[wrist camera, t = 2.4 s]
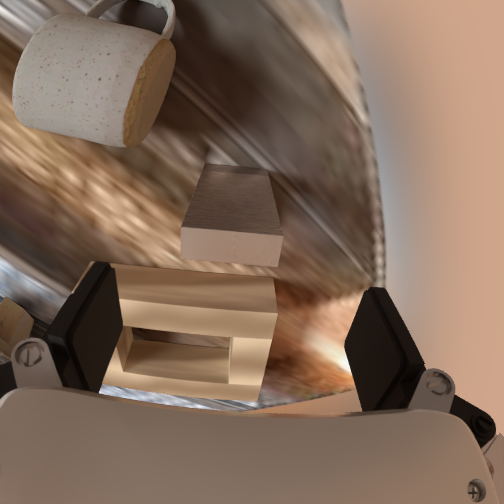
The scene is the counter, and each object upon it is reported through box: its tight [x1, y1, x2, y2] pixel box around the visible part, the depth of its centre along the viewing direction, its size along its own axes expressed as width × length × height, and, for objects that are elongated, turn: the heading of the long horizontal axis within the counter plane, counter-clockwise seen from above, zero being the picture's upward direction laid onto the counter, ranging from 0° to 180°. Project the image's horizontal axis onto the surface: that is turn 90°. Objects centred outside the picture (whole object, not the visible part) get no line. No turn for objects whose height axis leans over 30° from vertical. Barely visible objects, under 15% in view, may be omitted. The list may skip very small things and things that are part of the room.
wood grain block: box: [181, 164, 283, 267], centre depth 19 cm, size 4×4×10 cm
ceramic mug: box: [13, 0, 176, 147], centre depth 15 cm, size 11×8×8 cm
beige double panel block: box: [0, 297, 34, 360], centre depth 28 cm, size 16×9×15 cm
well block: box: [72, 261, 278, 401], centre depth 28 cm, size 12×16×4 cm
